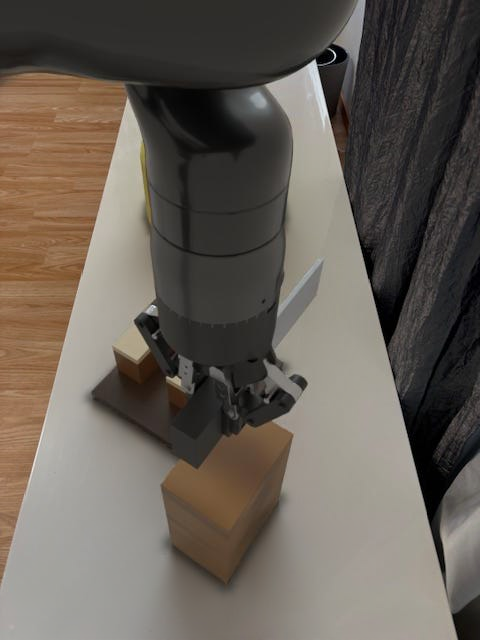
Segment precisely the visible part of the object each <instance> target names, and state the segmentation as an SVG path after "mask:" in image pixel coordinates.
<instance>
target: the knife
mask: <svg viewBox="0 0 480 640" xmlns="http://www.w3.org/2000/svg"><path fill="white" fill-rule="evenodd" d="M324 261H325V259H324V258H321V257H318V259H316V261H315V263H314V264H313V265H312V266H311V267H310V268H309V270H308V271H307V272H306V273H305V275H304V276H303V277H302V278H301V279H300V281H299V282H298V284H297V285H296V286H295V287H294V288H293V289H292V291H291V292H290V294H289V295H288V296H287V297H286V298H285V299H284V300H283V301H282V303H281V304H280V305H279V306H278V313H277V320H276V327H275V332H274V336H273V340H272V347H273V350H274V351H275V350H276V349H277V348H278V346H279V345H280V344H281V342H282V341H283V340H284V339H285V337H286V336H287V335H288V333H289V332H290V331H291V329H292V328H293V327H294V326H295V324H296V323H297V322H298V320H299V319H300V318H301V317H302V315H303V314H304V312H305V311H306V310H307V309H308V307H309V306H310V304H311V303H312V302H313V301H314V300H315V298H316V297H317V295H318V291H319V286H320V280H321V275H322V271H323V267H324ZM253 385H254V394H255V392H256V391H257V390H258V385H259V382H256V383H253ZM222 412H223V405H222V401H220V400H218V399H217V397H216V391H215V385H214V380H213V379H212V378H210V377H209V376H208V378H207V379H206V380H205V381H204V383H203V384H202V385H201V386H200V387H199V389H198V390H197V391H196V392H195V393H194V395H193V396H192V397H191V398H190V399H189V401H188V402H187V403H186V404H185V405H184V407H183V408H182V409H181V410H180V411H179V413H178V414H177V415H176V416H175V417H174V419H173V420H172V421H171V422H170V424H169V425H170V432H171V440H172V447H173V449H172V454H173V455H174V456H175V457H177V458H179V460H180V459H182V460H183V461H185V462H187V463H188V464H190V465H191V466H193V467H194V468H196V469H198V468H199V467H200V466H201V464H202V463H203V462H204V460H205V459H206V458H207V456H208V455H209V454H210V452H211V451H212V450H213V448H214V447H215V446H216V444H217V443H218V442H219V440H220V439H221V438H222V436H223V434H222Z"/></svg>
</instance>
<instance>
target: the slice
mask: <svg viewBox="0 0 480 640" xmlns="http://www.w3.org/2000/svg"><path fill="white" fill-rule="evenodd" d="M111 347H112V351H113V355H114V356H113V357H114V359H115V364H116V366H117V368H118V370H119V371H121V372H122V373H124V374H125V375H127V376H129V377H130V378H132V379H134V380H135V381H137V382H138V383H140V384H143V383H144V381H145V380H146V379H147V378H148V377H149V376H150V375H151V374H152V373H153V372H154V371H155V370H156V368H157V367H158V366H159V364H158V362H157V361H156V359H155V357H154V356H153V354H152V352H151V351H150V349H149V347H148V345H147V344H146V342H145V340H144V339H143V337H142V335H141V334H140V332H139V330H138V329H137V327H136V325H135V323H134V322H133V324H132V325H131V326H130V327H129V328H128V329H127V330H126V331H125V332H124V333H123V334H122V335H121V336H120V337H119V338H118V339H117V340H116V341H115V342H114V343H113V344H112V345H111ZM172 351H173V349H172V348H171V347H170V348H169V350H168V355H169V354H170V353H171V352H172Z"/></svg>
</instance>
